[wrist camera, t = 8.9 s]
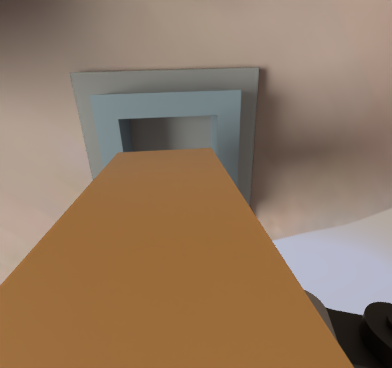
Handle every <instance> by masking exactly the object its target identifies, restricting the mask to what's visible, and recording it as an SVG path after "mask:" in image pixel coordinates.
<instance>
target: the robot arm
mask: <svg viewBox="0 0 392 368" xmlns="http://www.w3.org/2000/svg"><path fill="white" fill-rule="evenodd" d="M304 291H305V293H306V294H307V296H308V297H309V299H310V301H311V302H312V304H313V305H314V307H315V308H316V310H317V311H318V313H319V314H320V316H321V317H322V319H323V321H324V322H325V324H326V325H327V327H328V328H329V330H330V331H331V333H332V334H333V336H334V337H335V339H336V341H337V342H338V344H339V345H340V347H341V348H342V350H343V351H344V353H345V354H346V356H347V358H348V359H349V361H350V362H351V364H352V365H353V367H354V368H392V304H391V303H386V302H375V303H371V304H369V305H368V306H367V307H366V309H365V312H364V314H363V315H358V314H352V313H347V312H342V311H336V310H332V309H328V308H326V307H325V306H324V305H323V304H322V303H321V301H320V300H319V299H318V298H317V297H315V296H314V295H313V294H311V293H309V292H308V291H306V290H304Z"/></svg>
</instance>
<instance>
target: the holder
mask: <svg viewBox="0 0 392 368" xmlns="http://www.w3.org/2000/svg"><path fill="white" fill-rule="evenodd" d="M70 77H71V81H72V86H73V91H74V95H75V100H76V104H77V109H78V114H79V118H80V123H81V128H82V132H83V137H84V141H85V146H86V151H87V155H88V160H89V165H90V169H91V174H92V178H93V180H94V179H95V178H96V177H97V176H98V174H99V173H100V172H101V171H102V170H103V169H104V168H105V166H106V165H107V164H108V163H109V162H110V161H111V160H112V159H113V157H114V156H115V155H116V154H117V153H118V152H138V151H158V150H178V149H198V148H212V150H213V151H214V153H215V154H216V156H217V157H218V159H219V160H220V162H221V163H222V165H223V167H224V168H225V170H226V171H227V173H228V174H229V176H230V177H231V179H232V180H233V182H234V183H235V185H236V187H237V188H238V190H239V191H240V193H241V194H242V196H243V197H244V199H245V200H246V202H247V203H248V205H249V207H250V198H251V182H252V167H253V152H254V137H255V122H256V107H257V92H258V77H259V67H257V68H221V69H185V70H148V71H112V72H76V73H70Z"/></svg>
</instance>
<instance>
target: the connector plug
mask: <svg viewBox="0 0 392 368" xmlns="http://www.w3.org/2000/svg"><path fill="white" fill-rule="evenodd" d="M0 368H354V367H353V365H352V364H351V362H350V361H349V359H348V358H347V356H346V354H345V353H344V351H343V350H342V348H341V347H340V345H339V344H338V342H337V341H336V339H335V337H334V336H333V334H332V333H331V331H330V330H329V328H328V327H327V325H326V324H325V322H324V321H323V319H322V317H321V316H320V314H319V313H318V311H317V310H316V308H315V307H314V305H313V304H312V302H311V301H310V299H309V297H308V296H307V294H306V293H305V291H304V290H303V288H302V287H301V285H300V284H299V282H298V281H297V279H296V278H295V276H294V274H293V273H292V271H291V270H290V268H289V267H288V265H287V264H286V262H285V260H284V259H283V257H282V256H281V254H280V253H279V251H278V250H277V248H276V247H275V245H274V244H273V242H272V240H271V239H270V237H269V236H268V234H267V233H266V231H265V230H264V228H263V227H262V225H261V224H260V222H259V220H258V219H257V217H256V216H255V214H254V213H253V211H252V210H251V208H250V207H249V205H248V203H247V202H246V200H245V199H244V197H243V196H242V194H241V193H240V191H239V190H238V188H237V187H236V185H235V183H234V182H233V180H232V179H231V177H230V176H229V174H228V173H227V171H226V170H225V168H224V167H223V165H222V163H221V162H220V160H219V159H218V157H217V156H216V154H215V153H214V151H213V150H212V148H198V149H178V150H158V151H138V152H118V153H117V154H116V155H115V156H114V157H113V159H112V160H111V161H110V162H109V163H108V164H107V165H106V166H105V168H104V169H103V170H102V171H101V172H100V173H99V174H98V176H97V177H96V178H95V179H94V180H93V181H92V182H91V183H90V185H89V186H88V187H87V188H86V189H85V190H84V191H83V193H82V194H81V195H80V196H79V197H78V198H77V199H76V200H75V202H74V203H73V204H72V205H71V206H70V207H69V208H68V210H67V211H66V212H65V213H64V214H63V215H62V216H61V217H60V219H59V220H58V221H57V222H56V223H55V224H54V225H53V226H52V228H51V229H50V230H49V231H48V232H47V233H46V234H45V236H44V237H43V238H42V239H41V240H40V241H39V242H38V243H37V245H36V246H35V247H34V248H33V249H32V250H31V251H30V253H29V254H28V255H27V256H26V257H25V258H24V259H23V260H22V262H21V263H20V264H19V265H18V266H17V267H16V268H15V270H14V271H13V272H12V273H11V274H10V275H9V276H8V277H7V279H6V280H5V281H4V282H3V283H2V284H1V285H0Z"/></svg>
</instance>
